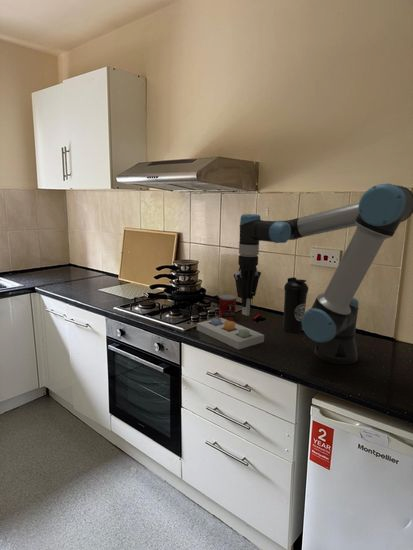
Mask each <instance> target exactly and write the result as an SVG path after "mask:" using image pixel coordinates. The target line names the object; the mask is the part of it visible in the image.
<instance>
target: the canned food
mask: <svg viewBox="0 0 413 550" xmlns="http://www.w3.org/2000/svg"><path fill="white" fill-rule="evenodd" d="M218 302H219V303H218V304H219V305H218V318H223V319H226V320H228V321H235V320H236V319H235V318H236V307H237V306H236V305H237V297H236V296H235V295H233V294H221V295H220V296H219V301H218Z"/></svg>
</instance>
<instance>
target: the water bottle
mask: <svg viewBox="0 0 413 550" xmlns="http://www.w3.org/2000/svg"><path fill="white" fill-rule="evenodd" d="M286 280H287V281H286V283H285V284H284V287H283V291H284V303H283V321H282V330H283V331H284V332H288V333H292V334H299V333H302V332H303V331H304V329H303V327H302V317H303V315H304V313H305V312H306V306H307V298H308V297H307V296H308V292H309V286H308V284H307V283H306V282H307V280H306V279H297V277H295V276H294V277H289V278H287V279H286Z"/></svg>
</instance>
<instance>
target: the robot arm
mask: <svg viewBox="0 0 413 550" xmlns="http://www.w3.org/2000/svg"><path fill="white" fill-rule="evenodd" d="M412 215H413V192H412V191H411V189H409V188H407V186H406V187H405V186H402V185H399V184H398V185H396V184H392V183H380V184H377V185H373V186H371V187H370V188H368V189H367V190H366V191H364V193H363V194H362V196H361V197H360V199H359V202H356V203H351V204H348V205H344V206H340V207H336V208H332V209H328V210H324V211H321V212H320V211H319V212H316V213H313V214H308V215H304V216H301V217H297V218H293V219H288V220H262V219H261V214H254V213H252V214H251V213H244V214H241V216H240V220H239V242H238V244H239V245H238V254H239V255H238V258H237V259H238V261H237V264H238V266H239V268H238V272H237V273H234V274H233V278H234V280H235V281H234V282H235V287H236V294H237V298H240V299H241V314H242V315H243V316H244V315H245V316H250V310H251V304H252V303H251V302H252V300H253V299H254V297H255V296H256V294H257V289H258V285H259V279H260V277H261V275H262V272H261V271H258V268H257V266H259V253H260V242H269V243H275V244H285V243H287V242H288V241H294V240H298V239H301V238H306V237H311V236H314V235H320V234H324V233H325V234H326V233H328V232H333V231H338V230H339V231H340V230H344V229H348V228H349V229H350V228H352V227H356V229H355V232H354V234H353V235H352V237H351V239H350V242H349V243H348V245H347V248H346V249H345V250H344V253H343V255H342V257H341V260H340V261H339V263H338V265H337V267H336V269H335V271H334V273H333V275H332V277H331V279H330V281H329V283H328V285H327V287H326V288H325V290H324V292H323V293H319V294H318V295H317V296H316V298H315V300H314V303H313V304H312V306H311V308H309V309H307V310H305V313H304V315H303V317H302V327H303V331H304V334H305V335H306V336H307V337H308V338H309V339H311V340H312V341H313V342H316V344H315V347H314V355H315V357H317V358H318V359H320V360H321V361H324V362H327V363H330V364H335V365H351V364H355V363H356V362H357V361H358V349H357V345H356V340H355V335H356V329H357V321H358V313H359V301H358V299H357V298H354V296H355V295H356V293H357V291H358V289H359V287H360V285H361V284H362V282H363V280H364V278H365V276H366V275H367V272H368V270H369V269H370V268H371V265H372V263H373V262H374V260H375V258H376V257H377V254H378V253H379V251H380V249H381V247H382V246H383V243H384V241H385V240H387V239H391V238H392V237H394V234H395V233H396V231H397V230H398V228H399V226H400V224H401V223H403V222H405V221H406V220H408V219H409V218H410V217H412Z"/></svg>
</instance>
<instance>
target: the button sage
mask: <svg viewBox="0 0 413 550" xmlns="http://www.w3.org/2000/svg"><path fill="white" fill-rule="evenodd" d="M249 333H250V331H249V330H246V329H241V330H239V331H238V336H239V337H242V338H247V337H249Z"/></svg>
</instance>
